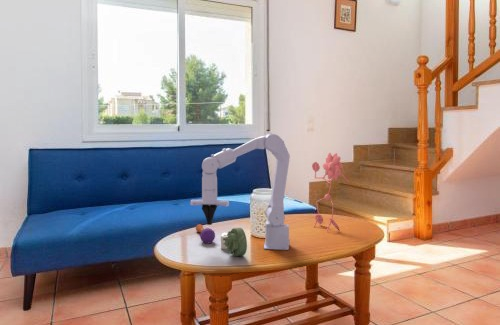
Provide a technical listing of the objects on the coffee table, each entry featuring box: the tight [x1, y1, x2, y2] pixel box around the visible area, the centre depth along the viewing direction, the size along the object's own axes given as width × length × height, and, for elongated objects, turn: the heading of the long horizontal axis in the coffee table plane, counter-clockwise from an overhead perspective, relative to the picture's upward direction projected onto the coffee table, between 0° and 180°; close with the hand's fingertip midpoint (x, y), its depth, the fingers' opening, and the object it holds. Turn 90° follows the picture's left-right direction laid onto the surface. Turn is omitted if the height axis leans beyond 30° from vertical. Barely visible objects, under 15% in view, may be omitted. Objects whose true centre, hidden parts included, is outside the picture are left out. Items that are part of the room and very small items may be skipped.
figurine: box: [311, 152, 351, 236], centre depth 173 cm, size 15×26×35 cm, turn 28°
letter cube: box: [220, 232, 228, 250], centre depth 146 cm, size 5×5×5 cm
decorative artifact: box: [223, 227, 248, 257], centre depth 136 cm, size 10×7×10 cm
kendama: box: [195, 223, 216, 244], centre depth 159 cm, size 6×6×20 cm
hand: (209, 224), depth 144 cm, fingers closed
